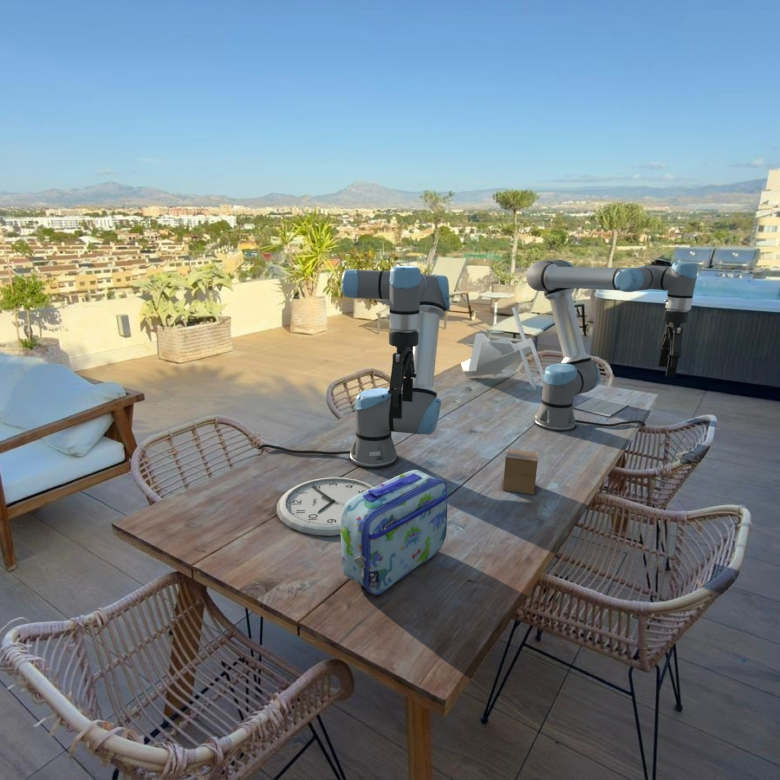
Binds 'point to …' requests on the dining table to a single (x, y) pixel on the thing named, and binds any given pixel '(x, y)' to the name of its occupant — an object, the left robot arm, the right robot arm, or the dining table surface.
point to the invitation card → (601, 406)
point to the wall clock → (318, 504)
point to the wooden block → (520, 471)
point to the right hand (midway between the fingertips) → (666, 371)
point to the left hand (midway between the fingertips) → (402, 409)
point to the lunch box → (393, 529)
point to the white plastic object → (500, 355)
